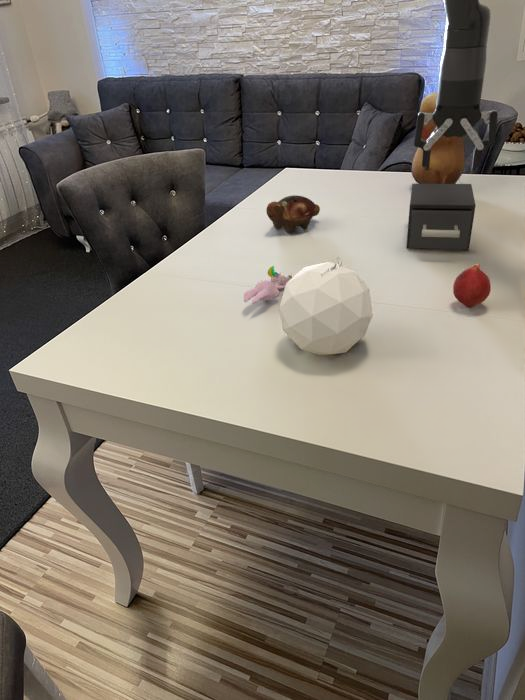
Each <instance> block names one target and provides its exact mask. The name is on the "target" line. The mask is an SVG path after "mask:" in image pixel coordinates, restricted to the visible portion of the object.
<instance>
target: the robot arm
mask: <svg viewBox="0 0 525 700" xmlns="http://www.w3.org/2000/svg"><path fill="white" fill-rule="evenodd" d="M443 7H444V12H445V18H446V19H445V20H446V21H445V31H444V39H443V49H442V53H441V54H442V55H441V58H440V65H439V70H438V84H437V91H438V94H437V104H436V109H435V111H434V113H424V111H420V110H419V112H418V113H417V119H416V127H415V135H414V140H413V141H414V142H413V146H414V147H415V148H418V147H419V148H421V149H422V150H423V158H422V166H423V167H425V170H429V164H430V154H431V147H432V146H433V144H434V143H435V142H436V141H437V140H438V139H439V138H440V137H441V136H442V135H443V136H445V137H453V136H456V137H463V136H464V137H466V136H467V135H468V137H469V139H470V140H471V142H472V143H473V145H474V146H475V147H474V148H473V154H472V160H471V171H472V172H474V171H477V168H480V167H481V164H482V159H483V151H484V150H485V149H486V148H489V147H494V146H495V143H496V134H497V126H498V125H497V124H498V115H499V114H498V111H497V110H496V109H495V108H492V109H490V110H485V111H481V101H482V93H483V87H484V79H485V73H486V66H487V49H488V48H487V47H488V41H489V40H488V39H489V33H490V25H491V9H490V7H488V6H487V5H485V4H482V3H481V2H480V0H443ZM431 119H433V121H434V123H435V125H436V126H437V128H436V129H435V130H434V131H433V132H432V134H431V135H430V137H429V138H428V139H427V140H426V141H424V140H422V139H421V138H422V131H423V125H427V124H428V122H429V120H431ZM481 119H483V121H484V124H486V125H487V134H486V138H484V139H481V137H480V136H479V134H478V132H477V130H476V129H475V128H474V127H476V125H477V124H478V123H479V122H480V121H481Z"/></svg>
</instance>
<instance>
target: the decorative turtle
mask: <svg viewBox="0 0 525 700" xmlns="http://www.w3.org/2000/svg"><path fill="white" fill-rule="evenodd" d="M320 211H321V208H320V206H319V205H318V203H317V204H316V203H315V202H314V201H313V200H311V199H310V198H308V197H306V196H302V195H297V194H295V195H294V194H293V195H288V196H285V197H283V198H281V199H280V200H279V201H271V202H269V203H268V204H267V206H266V211H265V212H266V216H267V217H268V219H269V220H270V221H271V222H272V225H273V227H274V228H275V229H276V230H281V229H282V228H283V229H284V230H285V232H286V233H287V234H289V235H292V234H294V233H295V231H296V230H297V229H298V227H299V228H301V229H302V230H308V227H309V226H310V223H311V221H312V219H313V218H314V217H316V216H318V215H319V213H320Z"/></svg>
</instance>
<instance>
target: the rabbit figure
mask: <svg viewBox="0 0 525 700" xmlns="http://www.w3.org/2000/svg"><path fill="white" fill-rule="evenodd" d="M267 275H268V277H270V280H267V279H260V281H257V283H256V284H255V285H254V286H253V287H251V288H249V289H247V290H246V291H245V292H244V294H243V302H244V303H248V301H250V300H252V301H251V304H256V303H257V302H258V301H259V300H260V301H266V302H268V301H270V300H272V299H277V298H278V297H279V296H280V290H282V289H285V286H286V283H287V282H288V281H289V280H290V279H292V278H293V276H292V275H293V274H292V273H291V274H288V275H287V276H285V275H282V274H281V273H278V272H277V271H276V270H275V266H274V265H272V266H270V267H269V268H268V270H267Z"/></svg>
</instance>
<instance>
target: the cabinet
mask: <svg viewBox="0 0 525 700" xmlns="http://www.w3.org/2000/svg"><path fill="white" fill-rule="evenodd" d="M410 190H411V191H410V199H409V209H408V222H407V232H406V233H407V235H406V246H405V247H406V249H407V250H431V249H430V248H409V244H410V232H411V220H412V210H416V208H427V209H468V211H472V218H471V225H470V231H469V238H468V245H467V250H462V251H467V252H469V251H470V245H471V239H472V232H473V227H474V219H475V212H476V200H475V194H474V190H473V186H472V183H455V184H418V183H411V189H410ZM432 250H434V251H435V250H436V251H439V250H440V251H461V250H460V249H432Z"/></svg>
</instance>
